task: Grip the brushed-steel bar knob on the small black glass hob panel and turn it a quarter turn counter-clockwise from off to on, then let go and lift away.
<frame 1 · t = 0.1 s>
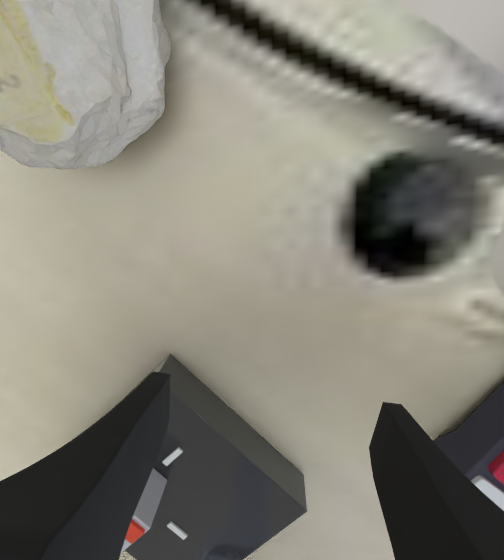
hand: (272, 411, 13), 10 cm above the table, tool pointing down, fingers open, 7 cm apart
knob: (120, 517, 22), point 5 cm above the table, hinge at 0.0°
hob panel: (184, 463, 27), on the table
fossil replica: (89, 48, 21), on the table
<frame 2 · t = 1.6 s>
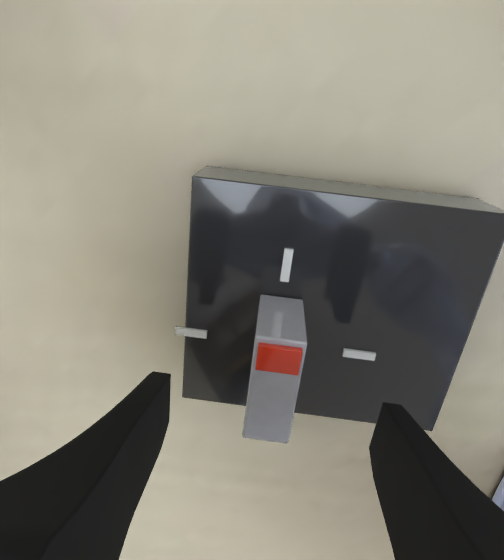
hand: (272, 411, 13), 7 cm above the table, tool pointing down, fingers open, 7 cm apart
knob: (273, 367, 16), point 5 cm above the table, hinge at 0.0°
hob panel: (320, 289, 20), on the table
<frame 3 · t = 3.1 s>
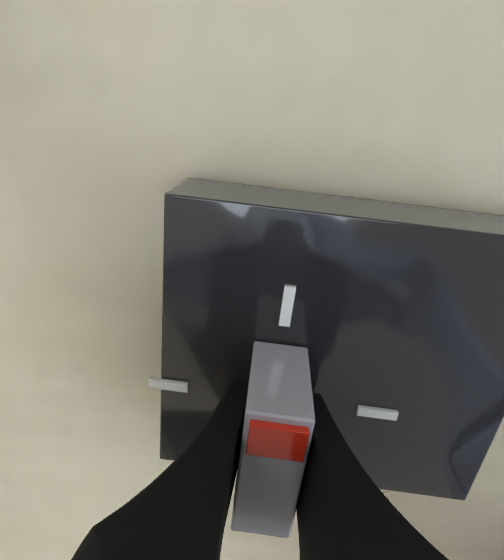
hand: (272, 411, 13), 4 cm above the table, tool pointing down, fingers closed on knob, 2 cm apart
knob: (270, 437, 12), point 5 cm above the table, hinge at 0.1°, touching gripper
hob panel: (327, 325, 16), on the table
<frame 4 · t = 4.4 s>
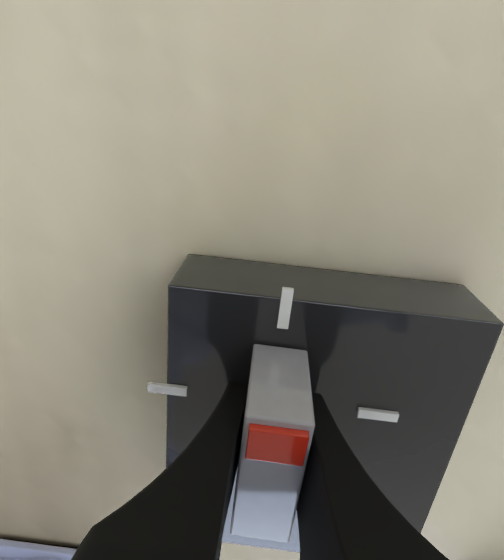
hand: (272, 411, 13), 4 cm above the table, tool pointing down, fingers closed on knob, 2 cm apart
knob: (270, 440, 12), point 5 cm above the table, hinge at 89.3°, touching gripper
hob panel: (302, 394, 17), on the table
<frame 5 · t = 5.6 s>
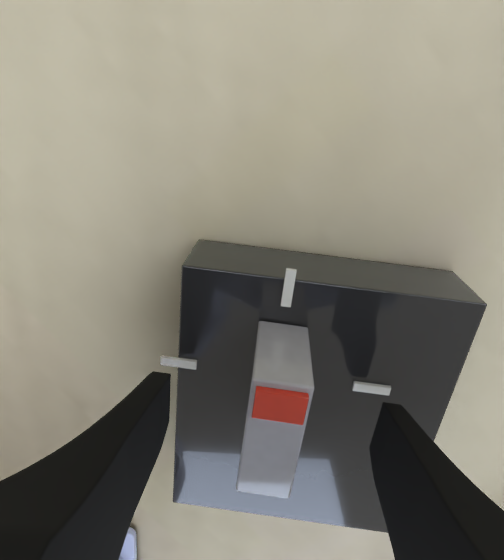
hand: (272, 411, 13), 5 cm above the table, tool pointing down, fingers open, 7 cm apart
knob: (273, 407, 13), point 5 cm above the table, hinge at 89.3°
hob panel: (301, 373, 19), on the table
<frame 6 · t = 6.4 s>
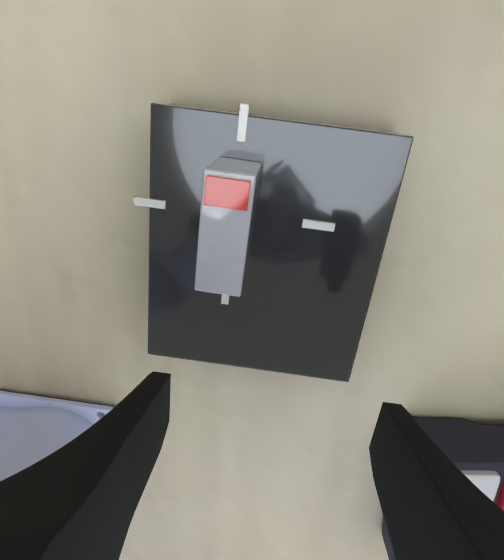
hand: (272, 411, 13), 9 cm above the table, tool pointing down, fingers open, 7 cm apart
knob: (228, 225, 16), point 5 cm above the table, hinge at 89.3°
hob panel: (265, 240, 21), on the table
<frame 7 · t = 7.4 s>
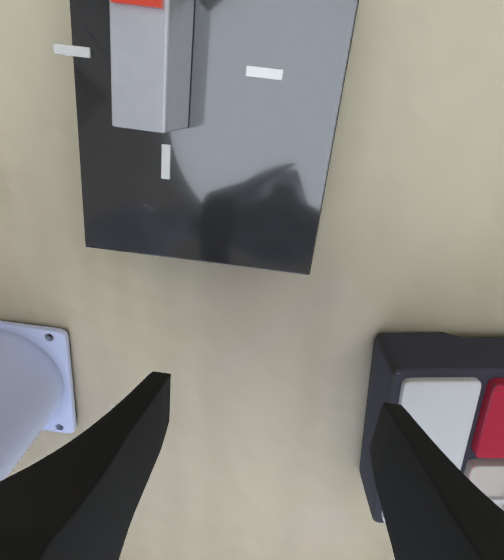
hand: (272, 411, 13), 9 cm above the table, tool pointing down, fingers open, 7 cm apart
red and grey box: (490, 408, 24), on the table
knob: (153, 56, 13), point 5 cm above the table, hinge at 89.3°
hob panel: (215, 120, 19), on the table
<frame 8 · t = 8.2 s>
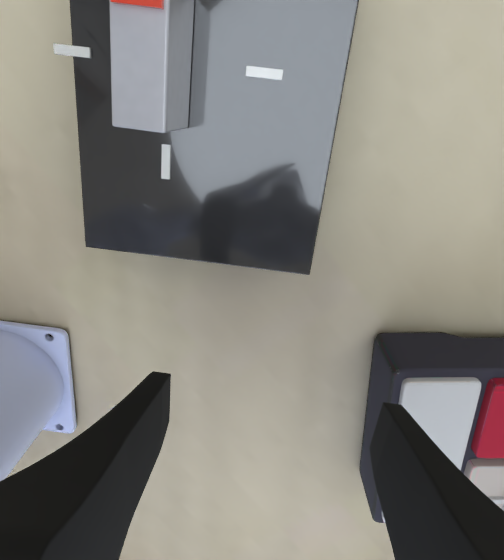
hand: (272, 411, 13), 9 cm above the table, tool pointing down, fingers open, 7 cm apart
red and grey box: (490, 408, 24), on the table
knob: (153, 56, 13), point 5 cm above the table, hinge at 89.3°
hob panel: (215, 120, 19), on the table
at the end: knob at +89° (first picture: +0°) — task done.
